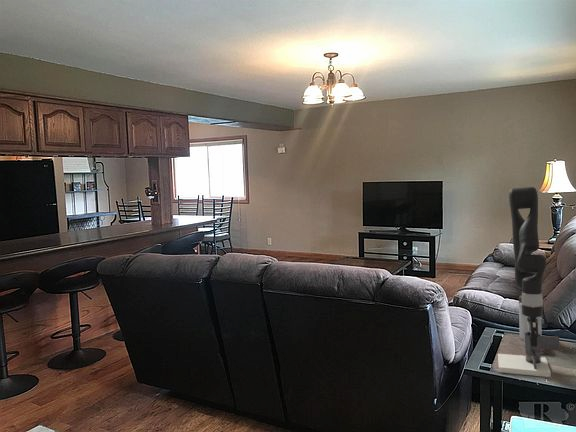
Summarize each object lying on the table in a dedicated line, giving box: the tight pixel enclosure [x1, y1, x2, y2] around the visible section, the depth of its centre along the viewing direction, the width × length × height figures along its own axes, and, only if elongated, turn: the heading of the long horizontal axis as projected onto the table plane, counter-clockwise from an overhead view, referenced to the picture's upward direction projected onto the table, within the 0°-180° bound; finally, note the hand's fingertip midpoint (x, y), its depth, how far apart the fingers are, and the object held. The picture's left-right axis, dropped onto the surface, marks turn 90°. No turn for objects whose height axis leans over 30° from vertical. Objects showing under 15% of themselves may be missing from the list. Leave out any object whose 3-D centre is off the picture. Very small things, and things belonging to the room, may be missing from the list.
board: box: [497, 353, 552, 378], centre depth 187 cm, size 15×18×2 cm
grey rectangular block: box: [524, 332, 560, 352], centre depth 186 cm, size 6×12×6 cm, turn 67°
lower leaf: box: [524, 348, 542, 369], centre depth 184 cm, size 11×6×11 cm, turn 157°
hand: (532, 342), depth 187 cm, fingers open, 8 cm apart
